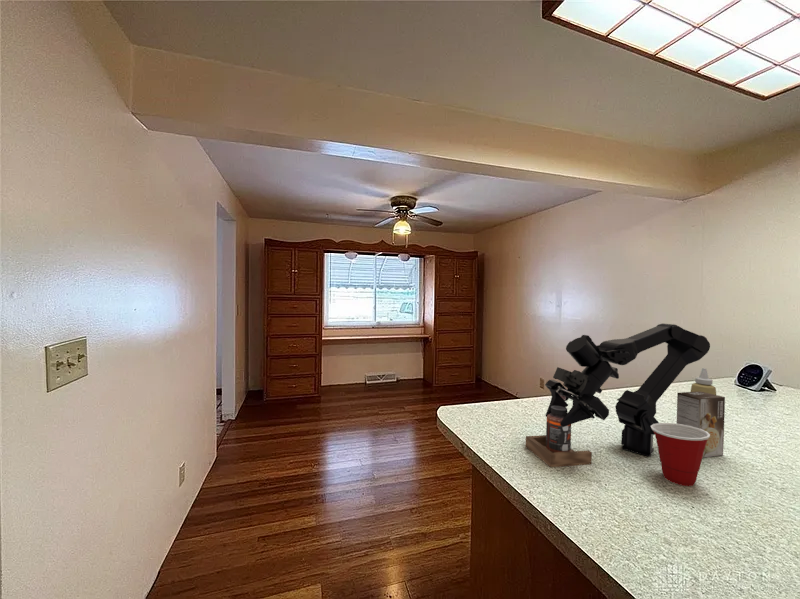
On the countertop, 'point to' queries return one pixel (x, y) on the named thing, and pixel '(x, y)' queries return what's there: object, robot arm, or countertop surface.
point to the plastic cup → (680, 451)
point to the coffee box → (704, 417)
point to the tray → (557, 453)
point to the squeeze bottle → (703, 383)
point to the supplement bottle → (557, 431)
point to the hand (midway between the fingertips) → (553, 421)
